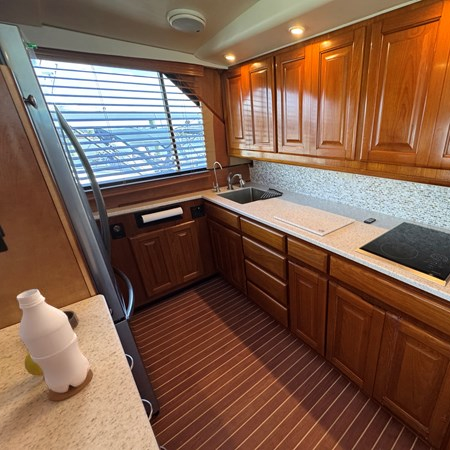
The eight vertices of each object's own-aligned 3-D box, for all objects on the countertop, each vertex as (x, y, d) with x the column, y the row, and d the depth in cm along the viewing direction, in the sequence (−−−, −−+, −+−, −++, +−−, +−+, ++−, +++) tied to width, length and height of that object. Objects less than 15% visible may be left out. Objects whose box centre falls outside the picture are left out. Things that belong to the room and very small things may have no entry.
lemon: (62, 358, 62) (50, 335, 59) (66, 370, 59) (53, 346, 56) (32, 373, 58) (17, 349, 56) (34, 388, 55) (19, 363, 52)
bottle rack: (29, 341, 68) (25, 333, 67) (55, 319, 76) (52, 311, 75) (63, 338, 69) (59, 330, 67) (85, 316, 77) (82, 309, 76)
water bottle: (85, 389, 54) (40, 300, 45) (44, 402, 52) (-12, 309, 43) (97, 363, 60) (60, 279, 51) (61, 373, 58) (15, 287, 49)
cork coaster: (38, 403, 52) (37, 402, 52) (66, 370, 59) (66, 369, 59) (76, 399, 53) (76, 397, 52) (100, 367, 60) (99, 365, 60)
